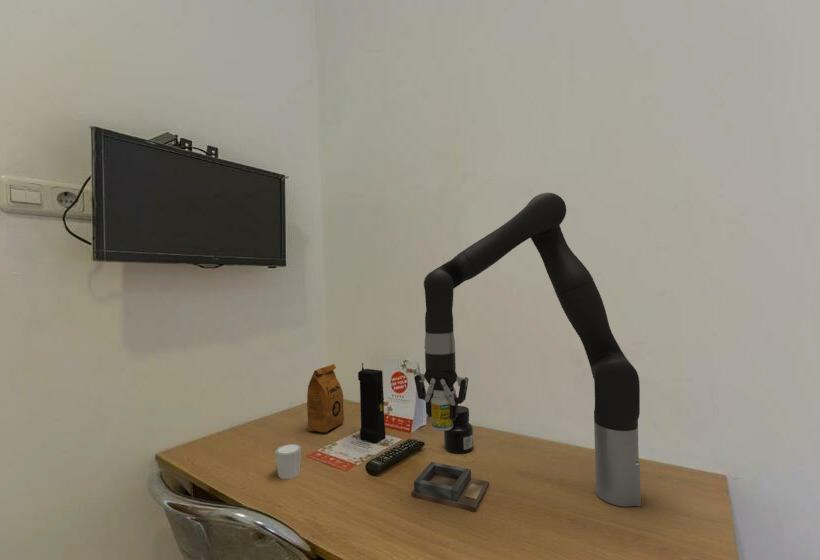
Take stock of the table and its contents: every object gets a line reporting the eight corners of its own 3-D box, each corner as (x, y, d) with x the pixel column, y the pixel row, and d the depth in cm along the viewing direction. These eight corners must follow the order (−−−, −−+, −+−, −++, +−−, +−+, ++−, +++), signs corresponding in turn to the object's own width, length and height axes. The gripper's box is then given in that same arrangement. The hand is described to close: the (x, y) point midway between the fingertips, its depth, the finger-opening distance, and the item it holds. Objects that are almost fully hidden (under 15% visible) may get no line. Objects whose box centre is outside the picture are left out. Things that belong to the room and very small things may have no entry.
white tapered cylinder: (307, 470, 110) (306, 445, 110) (290, 482, 104) (289, 456, 104) (288, 466, 113) (287, 441, 113) (270, 477, 107) (269, 451, 107)
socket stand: (489, 485, 99) (488, 471, 99) (475, 511, 89) (475, 496, 89) (430, 473, 106) (430, 460, 106) (411, 496, 96) (411, 482, 95)
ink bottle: (473, 455, 116) (472, 415, 116) (443, 454, 118) (442, 414, 118) (473, 441, 126) (472, 404, 126) (445, 440, 127) (444, 403, 127)
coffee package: (348, 424, 144) (346, 364, 144) (325, 436, 133) (323, 371, 133) (328, 419, 149) (326, 361, 149) (303, 431, 138) (302, 369, 138)
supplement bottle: (444, 421, 102) (443, 384, 102) (457, 427, 97) (456, 389, 97) (427, 426, 99) (426, 388, 99) (440, 433, 94) (439, 393, 94)
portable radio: (389, 437, 131) (387, 362, 130) (378, 444, 126) (376, 366, 125) (370, 433, 135) (368, 360, 135) (359, 439, 130) (357, 364, 130)
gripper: (472, 348, 98) (474, 416, 98) (419, 346, 104) (421, 409, 105) (462, 354, 92) (465, 427, 92) (407, 351, 98) (409, 419, 98)
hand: (441, 417), depth 98 cm, fingers closed on supplement bottle, 5 cm apart
